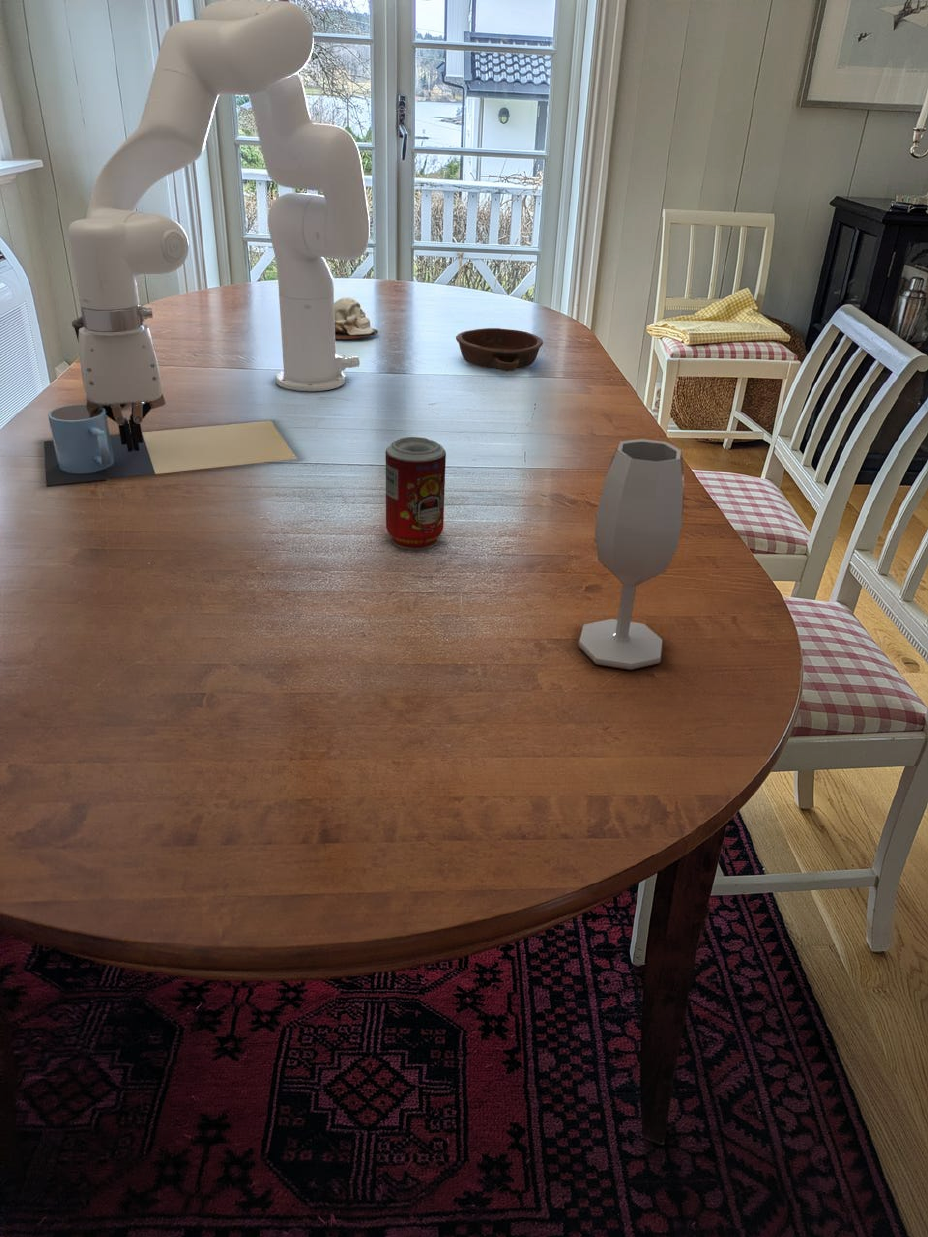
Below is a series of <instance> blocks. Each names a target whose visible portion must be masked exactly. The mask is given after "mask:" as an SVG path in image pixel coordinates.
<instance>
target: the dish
mask: <svg viewBox="0 0 928 1237" xmlns="http://www.w3.org/2000/svg"><path fill="white" fill-rule="evenodd" d="M455 340H456V342H457V343H458V344H459V345H458V346H459V350H460V352H461V355H462V358H463V360H464V361H465V362H466V363H468V364H470V365H473V366H475V367H476V366H477V367H479V368H484V369H491V370H499V371H503V372H514V371H515V370H519V369H520V370H521V369H524V368H527V367H529V366H531V365H532V364H533V363H534V362H535V361H536V359H537V357H538V354H539V351H540V348H542V346H543V345H544V341H543V339H542V338H541V337H540V336H538V335H537V334H534V333H530V332H528V331H523V330H518V329H508V328H500V327H486V328H476V329H470V330H465V331H462V332H460V333H458V334H457V335H456V337H455Z"/></svg>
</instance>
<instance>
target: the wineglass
mask: <svg viewBox="0 0 928 1237" xmlns="http://www.w3.org/2000/svg"><path fill="white" fill-rule="evenodd" d="M615 449H616V450H615V452H614V454H613V456H612V458H611V460H610V463H609V466H608V470H607V473H606V477H605V481H604V484H603V488H602V490H601V495H600V498H599V502H598V506H597V513H596V519H595V528H594V538H595V544H596V545H595V546H596V552H597V558H598V559H597V560H598V561H599V562H600V564H602V565H603V566H604V567H605V568H606V569H607V570H608V571H609V572H610V573H611V574H612V575H613V576H614V577H615V578H616V579H617V580H618V581H619V582H620V583H621V584H622V585H621V592H620V600H619V606H618V613H617V618H609V619H608V618H607V619H603V620H598V621H594V622H589V623H583V625H582V628H581V631H580V635H579V639H578V643H577V645H578V648H579V649H580V650H581V651H582V652H583V653H584V654H585V655H586V656H587V657H588V658H589V659H590V660H591V661H592V662H593V663H594V664H595V665H600V666H605V667H612V668H618V669H624V670H631V671H632V670H636V669H640V668H644V667H645V668H646V667H649V666H653V665H657V664H661V661H662V654H663V645H664V641H663V639H662V637H660V636H659V635H658V634H657V633H655V631H653V630H652V629H651V628H650V627H649V626H647V625H646V624H645V623H641V622H635V621H632V615H633V609H634V602H635V597H636V596H635V594H636V588H637V586H640V585H642V584H643V583H646V582H648V581H650V580H652V579H654V578H656V577H658V576H660V575H663V574H664V573H666V572H667V571H668V568H669V566H670V564H671V563H672V560H673V558H674V556H675V553H676V551H677V550H678V546H679V542H680V535H681V529H682V523H683V515H684V504H685V503H684V502H685V501H684V500H685V499H684V498H685V494H684V493H685V471H684V470H685V469H684V463H683V455H682V454H683V453H682V449H680V448H678V447H676V446H675V445H673V444H671V443H669V442H667V441H663V440H656V439H655V440H653V439H645V438H638V439H628V440H622V441H621V440H620V441H619V442H618V445H617V447H616V448H615Z"/></svg>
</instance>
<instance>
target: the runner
mask: <svg viewBox="0 0 928 1237" xmlns="http://www.w3.org/2000/svg"><path fill="white" fill-rule="evenodd" d="M142 437H143V443H139V449H140V451H136V450H134V447H133V450H132V451H130V452H128V449H127V445H126V444H124V445H122V444H121V439H120V433H119V434H110V438H111V444H112V450H113V456H114V464H113V465H112V466H111V467H109V468H107V469H104V470H101V471H98V472H93V473H82V474H77V473H68V472H65V471H62V470H61V469H60V468H59V466H58V461H57V457H56V452H55V447H54V442H53V439H52V440H44V441H43V447H44V448H43V450H44V467H45V468H44V470H45V486H46V488H47V487H48V488H49V487H56V486H58V487H59V486H68V485H77V484H84V483H85V484H86V483H94V482H104V481H105V482H106V481H107V480H114V479H123V478H132V477H133V478H134V477H141V476H142V477H143V476H152V475H159V474H170V473H171V474H172V473H180V472H188V471H198V470H207V469H217V468H226V467H235V466H236V467H237V466H245V465H255V464H263V463H272V462H273V463H274V462H282V461H283V462H284V461H292V460H293V461H294V460H298V458H297V457H296V455H295V453H293V451H292V449H291V448H290V447H289V445H288V443H287V441H285V439H284V438H283V436H282V435H281V433H280V431H279V430H278V429H277V428H276V426H275V425H274V423H273V422H272V421H271V420H262V421H261V420H260V421H252V422H241V423H230V424H219V425H207V426H198V427H197V426H195V427H186V428H184V427H183V428H173V429H163V430H152V431H142ZM131 439H132V438H131ZM132 445H133V444H132Z"/></svg>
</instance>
